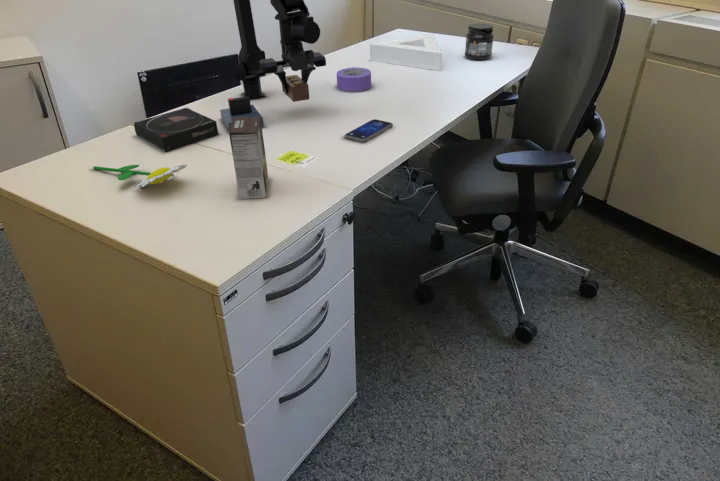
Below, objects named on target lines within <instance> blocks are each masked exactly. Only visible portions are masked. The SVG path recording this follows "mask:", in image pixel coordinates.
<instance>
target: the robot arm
mask: <svg viewBox="0 0 720 481" xmlns="http://www.w3.org/2000/svg"><path fill="white" fill-rule="evenodd" d="M269 2H270V5H271V6H272V7H273V8H274V10H275V11H276V13H277V14H276V15H275V16H274V20H277V21H278V25H279V35H280V40H279V43H280V47H281V59H282V60H275V59H274V58H273V57H269V58H266V53H265V52H266V51H264V50H262V49H261V48H260V47H259V45H258V40H257V36H256V30H255V23H254V18H253V12H252V6H251V0H233V7H234V11H235V17H236V23H237V28H238V34H239V41H240V50H239V52H238V55H237V58H238V65H237V66H236V68H235V71H234V75H235V78H236V80H239V81H241V82H242V87H243V92H241V95H242V97H245V96H249V98H250V100H254V99H261V98H265V97H266V95H265V93H264V92H263V91H262V84H261V83H262V82H261V78H262V77H266V76H267V75H268V74H274V75H275V76H277V78H278V80H279V81H280V83H281V86H282V85H283V88H284V90H285V92H286V93H288V87H287V82H286V76H287V72H286V71H285V70H284V68H288V67H290V70H291V71H293V72H298V71H300V78H301V79H302V80H303V81H305V82H306V83H307V84H308V81H309V78H310V76H311V73H312V72H313V71H315V70H316V69H317V68H320V67H321V68H322V67H325V66H327V59H326V56H324V55H323V54H322V53H321V52H319V51H317V52H315V51H314V50H313V49H307V50H305V49H304V46H303V43H306V44H310V45H313V44H315V43H317V42H318V41H319V39H320V37H321V28H320V26H319V24H318V23H317V22H315V21H314V16H312V15H311V13H310V11H309V8H308V6H307V5H306V3H305V1H304V0H269Z"/></svg>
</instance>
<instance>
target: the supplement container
mask: <svg viewBox="0 0 720 481" xmlns="http://www.w3.org/2000/svg"><path fill="white" fill-rule="evenodd" d="M493 32H494V25H493V24H491V23H485V22H476V23H470V24H469V25H468V26H467V33H466V35H465V50H464V57H465V58H466V59H468V60H470V61H480V62H481V61H487V60H489V59H490V58H492V56H493V55H492V54H493V45H494V44H493V43H494V38H495V36H494V35H495V34H494V33H493Z"/></svg>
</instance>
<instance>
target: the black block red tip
mask: <svg viewBox="0 0 720 481" xmlns="http://www.w3.org/2000/svg"><path fill="white" fill-rule="evenodd" d="M227 102H228V108H229V109H230V114H231V116H234V115H240V114H246V113H252V111H251V105H252V104H251V99H250V98H249V96H245V97H244V96H239V97H228V99H227Z"/></svg>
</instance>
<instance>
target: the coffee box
mask: <svg viewBox="0 0 720 481" xmlns="http://www.w3.org/2000/svg"><path fill="white" fill-rule="evenodd" d="M228 136H229V142H230V149H231V155H232V162H233V167H234V173H235V179H236V186H237V192H238V198H239V199H240V200H247V199H265V198H267V197H268V189H269V180H270V177H269V170H268V164H267V163H268V162H267V156H266V155H267V154H266V148H265V141H264V133H263V127H262V125H261V117H260V116H258V117H233V118H232V122H231V126H230V130H229V131H228Z"/></svg>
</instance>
